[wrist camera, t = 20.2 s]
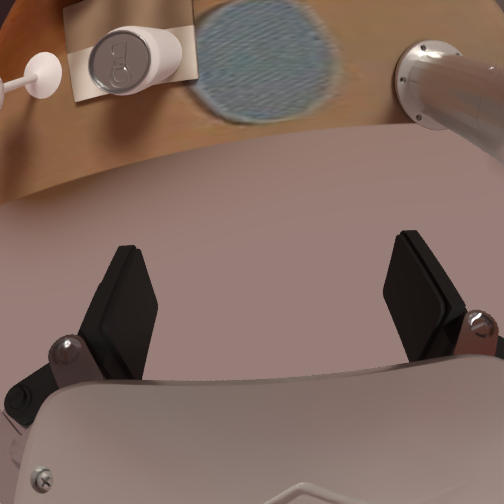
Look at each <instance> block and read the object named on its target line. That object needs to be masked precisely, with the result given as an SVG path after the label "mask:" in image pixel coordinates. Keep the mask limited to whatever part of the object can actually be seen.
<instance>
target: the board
mask: <svg viewBox="0 0 504 504" xmlns="http://www.w3.org/2000/svg"><path fill="white" fill-rule="evenodd" d="M63 20H64V30H65V40H66V48H67V56H68V63H69V70H70V76H71V82H72V88H73V94H74V99H75V102H78V101H81V100H85V99H89V98H93V97H97V96H101V95H106V94H110V93H106V92H104V91H102V90H100V89H99V88H98V87H97V86H96V85H95V84H94V83H93V81H92V80H91V78H90V75H89V71H88V60H89V55H90V53H91V50H92V48H93V47H94V45H95V44H96V43H97V42H98V40H100V39H101V38H102V37H103V36H105V35H106V34H108V33H109V32H111V31H112V30H114V29H117V28H120V27H125V26H139V27H149V28H156V29H162V30H166V31H168V32H170V33H172V34H173V35H174V36H176V38H177V39H178V40H179V42H180V44H181V47H182V59H181V62H180V65H179V67H178V68H177V69H176V71H175V72H174V73H173V74H172V75H170V76H169V77H167V78H166V79H164V80H162V81H160V82H158V83H156V84H162V83H168V82H175V81H182V80H190V79H198V78H199V68H198V58H197V46H196V35H195V22H194V10H193V0H84V1H81V2H79V3H76V4H73V5H70V6H68V7H65V8H63ZM156 84H154V85H156Z"/></svg>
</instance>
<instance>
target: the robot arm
mask: <svg viewBox="0 0 504 504" xmlns="http://www.w3.org/2000/svg"><path fill="white" fill-rule="evenodd" d="M420 47H421V48H420ZM401 78H402V80H401V81H400V79H401ZM395 90H396V94H397V98H398V100H399V103H400V105H401V107H402V108H403V110H404V111H405V113H406V114H407V115H408V116H409V117H410V118H411V119H412V120H413V121H414V122H416V123H417V124H419V125H421V126H423V127H425V128H428V129H431V130H445V129H450V130H452V131H453V132H455V133H457V134H458V135H460V136H461V137H463V138H465V139H467V140H468V141H469V142H471V143H473V144H474V145H476V146H477V147H479V148H480V149H482V150H483V151H485V152H486V153H488V154H489V155H491V156H492V157H494V158H495V159H497V160H498V161H499V162H501V163H502V164H504V66H501V65H498V64H494V63H490V62H486V61H482V60H478V59H474V58H469V57H465V56H463V55H462V54H461V53H460V52H459V51H458V50H457V49H456V48H455V47H453V46H452V45H450V44H448V43H446V42H443V41H439V40H423V41H419V42H417V43H415V44H413V45H411V46H410V47H409V48H408V49H406V51H405V52H404V53H403V54H402V56H401V58H400V60H399V62H398V64H397V68H396V71H395ZM416 116H417V117H416ZM383 297H384V299H385V302H386V304H387V306H388V309H389V311H390V314H391V316H392V319H393V321H394V324H395V326H396V329H397V331H398V334H399V336H400V338H401V341H402V344H403V347H404V349H405V352H406V354H407V357H408V360H409V363H404V364H397V365H391V366H385V367H378V368H372V369H364V370H357V371H349V372H341V373H332V374H322V375H312V376H302V377H289V378H274V379H256V380H231V381H230V380H229V381H160V380H142V376H143V372H144V367H145V362H146V358H147V353H148V349H149V344H150V340H151V336H152V332H153V328H154V323H155V319H156V315H157V311H158V303H157V300H156V296H155V294H154V291H153V287H152V284H151V281H150V278H149V275H148V272H147V269H146V265H145V262H144V259H143V256H142V253H141V250H140V249H136V247H135V246H134V245H127V246H119V247H118V249H117V251H116V253H115V255H114V257H113V259H112V261H111V263H110V266H109V267H108V269H107V272H106V274H105V276H104V278H103V280H102V282H101V283H100V284H99V286H98V288H97V290H96V292H95V295H94V297H93V299H92V301H91V303H90V306H89V308H88V310H87V313H86V315H85V317H84V320H83V322H82V325H81V327H80V329H79V332H78V334H77V335H74V334H70V335H65V336H63V337H61V338H59V339H58V340H56V341H55V342H54V343H53V345H52V346H51V348H50V350H49V353H48V360H49V363H48V364H46V365H45V366H43V367H42V368H40V369H39V370H37V371H36V372H34V373H33V374H31V375H30V376H28V377H27V378H25V379H23V380H22V381H20V382H19V383H18V384H16V385H14V386H13V387H12V388H11V389H10V390H9V391H8V393H7V395H6V397H5V401H4V407H5V409H4V410H3V412H2V411H1V410H0V501H1V503H2V504H504V338H502V337H501V336H499V335H498V334H499V328H498V325H497V322H496V321H495V319H494V318H493V317H492V316H491V315H490V314H488V313H486V312H485V311H481V310H471V311H469V312H468V311H467V309H466V308H465V306H466V305H465V303H464V301H463V300H462V298H461V297H460V295H459V293H458V291H457V290H456V288H455V287H454V285H453V283H452V282H451V280H450V279H449V277H448V276H447V274H446V272H445V271H444V269H443V268H442V266H441V265H440V263H439V262H438V261H437V259H436V257H435V256H434V255H433V253H432V251H431V250H430V249H429V247H428V246H427V244H426V243H425V241H424V240H423V238H422V237H421V236H420V234H419V233H418V232H417V231H416V230H407V231H401V233H400V235H397V236H396V239H395V244H394V248H393V252H392V257H391V260H390V265H389V268H388V272H387V276H386V280H385V284H384V288H383Z"/></svg>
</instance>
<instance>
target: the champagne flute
mask: <svg viewBox="0 0 504 504" xmlns="http://www.w3.org/2000/svg"><path fill="white" fill-rule="evenodd" d="M61 77H62V69H61V65H60V62H59V60H58V59H57V57H56V56H55V55H53V54H51V53H49V52H42V53H39V54H37V55H35V56H34V57H33V58H32V59H31V60H30V61H29V62H28V64H27V66H26V69H25V72H24V77H22V78H19V79H16V80H13V81H10V82H7V83H4V84H3V82H2V80H1V78H0V110H1V107H2V104H3V100H4V93H6V92H9V91H11V90H14V89H17V88H19V87H22V86H25V87H26V89H27V91H28V92H29V94H30V95H32V96H33V97H35V98H39V99H43V98H47V97H49V96H51V95H52V94H53V93H54V92H55V91H56V90H57V88H58V86H59V84H60V81H61Z"/></svg>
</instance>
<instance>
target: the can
mask: <svg viewBox="0 0 504 504" xmlns="http://www.w3.org/2000/svg"><path fill="white" fill-rule="evenodd" d="M181 59H182V47H181V44H180V42H179V40H178V39H177V38H176V36H174V35H173V34H172V33H170V32H168V31H166V30H162V29H156V28H149V27H139V26H125V27H120V28H117V29H114V30H112V31H111V32H109V33H108V34H106V35H105V36H103V37H102V38H101V39H100V40H98V42H97V43H96V44H95V45H94V47H93V48H92V50H91V53H90V55H89V60H88V71H89V75H90V78H91V80H92V81H93V83H94V84H95V85H96V86H97V87H98V88H99V89H100V90H102V91H104V92H106V93H110V94H115V95H130V94H134V93H137V92H139V91H142V90H144V89H146V88H148V87H150V86H152V85H154V84H156V83H158V82H160V81H162V80H164V79H166V78H167V77H169V76H170V75H172V74H173V73H174V72H175V71H176V69H177V68H178V67H179V65H180V62H181Z"/></svg>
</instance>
